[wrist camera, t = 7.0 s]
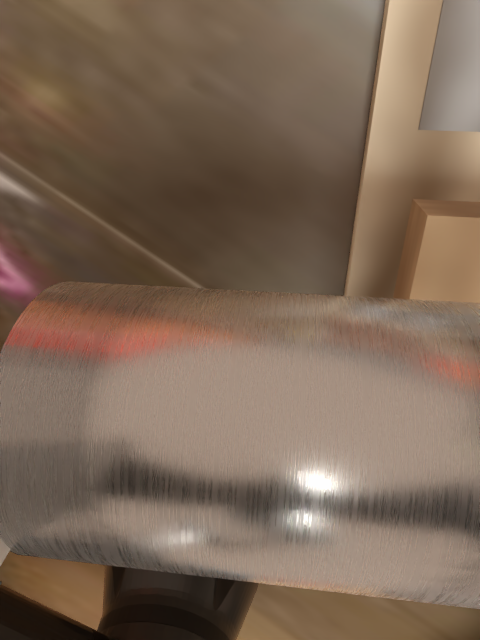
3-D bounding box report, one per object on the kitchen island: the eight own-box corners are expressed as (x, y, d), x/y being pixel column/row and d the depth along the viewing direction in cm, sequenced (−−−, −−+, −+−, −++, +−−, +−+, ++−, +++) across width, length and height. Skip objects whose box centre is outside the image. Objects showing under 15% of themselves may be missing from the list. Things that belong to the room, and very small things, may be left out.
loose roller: (126, 411, 17) (36, 611, 11) (91, 238, 13) (-73, 409, 8) (458, 438, 16) (545, 679, 10) (526, 256, 12) (729, 477, 6)
